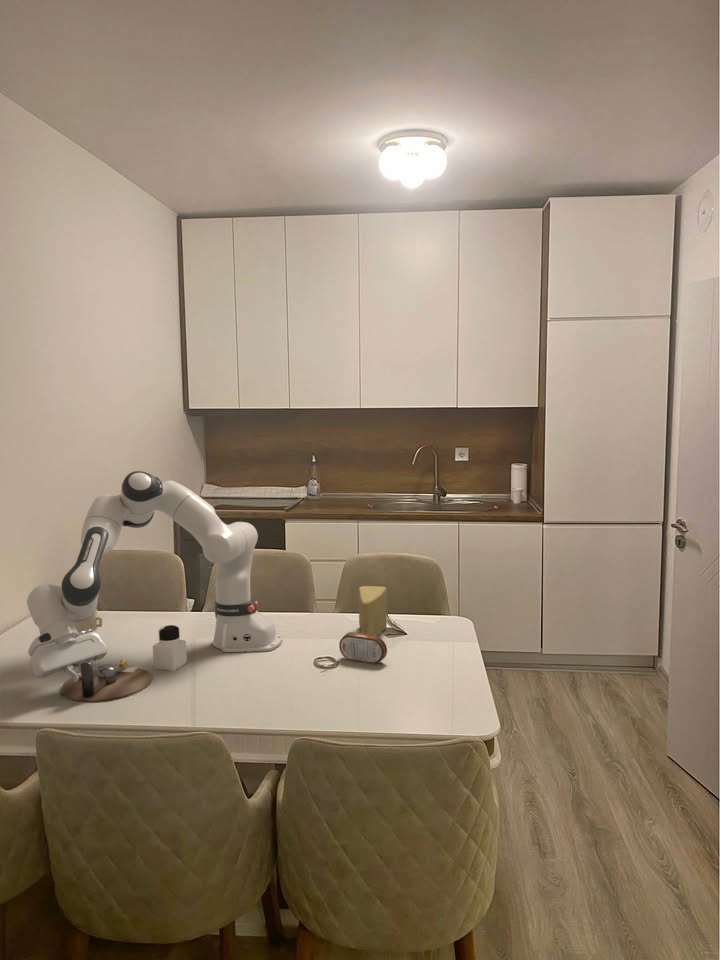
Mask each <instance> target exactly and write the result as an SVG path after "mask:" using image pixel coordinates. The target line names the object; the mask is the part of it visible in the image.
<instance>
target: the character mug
mask: <svg viewBox="0 0 720 960" xmlns="http://www.w3.org/2000/svg"><path fill="white" fill-rule="evenodd" d="M98 614H99V613H98V609H97V608H96V610H95V612H94V614H93V615H92V616H91V617H89V618H87V619H85V620H81V621H78V622H74V623H73V624H74V626H75V628H76V630H77V632H81V631H85V630H88V629H91V630H95V631H97V629H99V628H102V627H103V617H102V616H99V615H98ZM92 632H93V631H92Z"/></svg>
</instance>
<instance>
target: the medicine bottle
mask: <svg viewBox="0 0 720 960" xmlns="http://www.w3.org/2000/svg"><path fill="white" fill-rule="evenodd" d="M152 654H153V655H152V658H153V669H156V670H162V671H165V670H166V671H170V672H171V671H172V672H173V671H176V670H177V669H179V668H181V667H182V666H184V665H185V664H186V663H187V642H186V640H185V639H180V627H179V626H178V625H177V626H176V625H173V624H171V625H170V624H169V625H164V626H161V627H160V628H159V629H158V642H157V643H155V644H153V645H152Z"/></svg>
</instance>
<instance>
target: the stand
mask: <svg viewBox="0 0 720 960" xmlns="http://www.w3.org/2000/svg"><path fill="white" fill-rule="evenodd" d="M118 666H119V665H116V668H117V667H118ZM116 677H117V680H116V681H115V682H113V683H110V684H106V685H105V686H104V687H102V688H101V689H100V690H98V691H97V692H96V693H94V695H93V696H91V697H83V696H82V680H81V681H79V682H75V681H74V679H73V678H72V677H70V678H69V679H67V680H66V681H65V682H64V683H63V684H62V686H61V693H63V694H62V695H63V697H65V696H66V697H67V699H68V698H69V700H71V699H72V700H71V701H75V700H76V702H80V701H84V703H101V701H102V702H109V701H114V700H115V699H116V700H120V699H124V698H127V697H126V696H128V697H130V696H129V695H131V696H133V695H136V694H138V693H140V692H141V690H142V691H143V689H144V690H145V689H147V688H148V687H149V686H150V685H151V683H152V680H153V679H152V674H151V673H150V671H148V669H147V670H146V669H144V668H140V667H137V666H127V665H126V667H125V668H123V669H122V670H121V671H119V672H118V673H117V674H116ZM96 679H98V674H97V668H95V669H94V668H93V680H94V681H95V680H96ZM139 691H140V692H139ZM137 692H138V693H137ZM135 693H136V694H135ZM132 694H133V695H132ZM66 697H65V698H66ZM123 697H124V698H123Z"/></svg>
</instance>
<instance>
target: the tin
mask: <svg viewBox="0 0 720 960" xmlns="http://www.w3.org/2000/svg"><path fill="white" fill-rule="evenodd" d="M339 652H340V654H341V655H342V656H343V657H344V658H345V659H346V660H349V661H353V662H359V663H364V664H370V665H371V664H372V665H376V664H379V663H380V662H381V661H383V660H384V659H385V658H386V656H387V653H388V647H387V644H386V642H385V641H384V639H382V638H381V637H379V635H378V636H375V635H368V634H362V633H361V632H354V631H350V632H347V633H345V634H344V635H343V636H342V637H341V639H340V641H339Z"/></svg>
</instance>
